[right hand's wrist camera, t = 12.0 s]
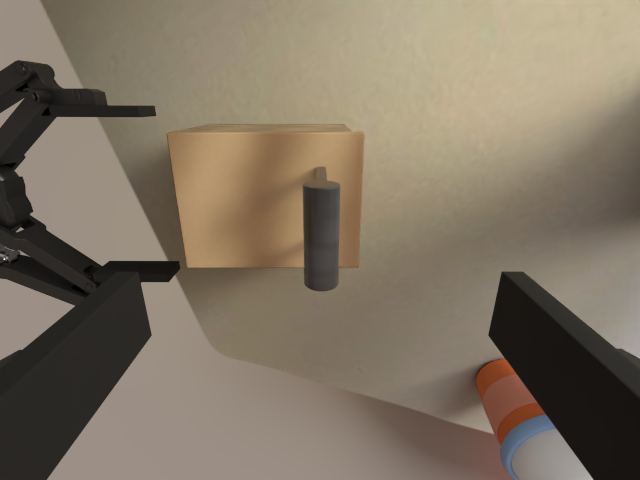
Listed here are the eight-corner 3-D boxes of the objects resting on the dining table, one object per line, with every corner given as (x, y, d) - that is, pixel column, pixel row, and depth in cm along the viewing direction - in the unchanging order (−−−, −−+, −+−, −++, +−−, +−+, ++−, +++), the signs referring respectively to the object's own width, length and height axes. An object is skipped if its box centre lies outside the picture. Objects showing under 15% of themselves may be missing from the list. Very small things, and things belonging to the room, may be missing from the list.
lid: (362, 131, 25) (383, 144, 17) (357, 261, 28) (372, 323, 20) (172, 131, 25) (102, 144, 17) (191, 262, 28) (141, 323, 20)
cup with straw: (458, 405, 46) (539, 580, 29) (469, 348, 42) (567, 508, 26) (528, 405, 46) (649, 580, 29) (544, 348, 42) (691, 508, 26)
